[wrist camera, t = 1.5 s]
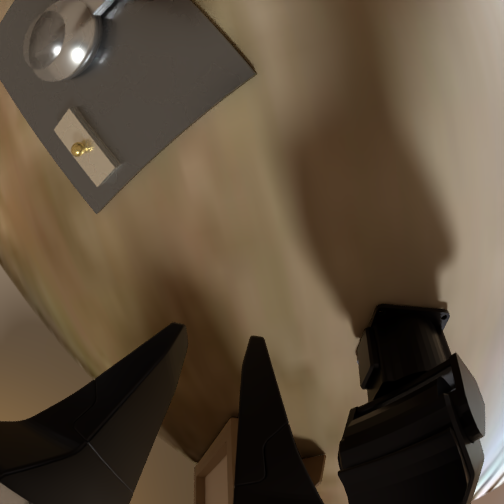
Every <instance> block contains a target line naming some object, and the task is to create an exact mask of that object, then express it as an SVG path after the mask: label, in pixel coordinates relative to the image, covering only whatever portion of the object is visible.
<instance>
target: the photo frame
mask: <svg viewBox="0 0 504 504" xmlns="http://www.w3.org/2000/svg"><path fill="white" fill-rule="evenodd" d="M237 432H238V418H230V419H229V421H228V422H227V424H226V425H225V426H224V428H223V429H222V431H221V432H220V433H219V435H218V436H217V438H216V439H215V440H214V442H213V443H212V445H211V446H210V447H209V449H208V450H207V452H206V453H205V454H204V456H203V457H202V458H201V460H200V461H199V462H198V464H197V465H196V466H195V468H194V504H233V493H234V478H235V462H236V447H237ZM325 459H326V455H320V456H315V457H310V458H304V459H302V461H303V463H304V465H305V467H306V469H307V472H308V474H309V476H310V478H311V480H312V482H313V484H314V486H315V488H316V487H317V486H318V485H319V484H320V483H321V481H322V476H323V470H324V465H325Z"/></svg>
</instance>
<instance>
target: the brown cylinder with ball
mask: <svg viewBox="0 0 504 504" xmlns="http://www.w3.org/2000/svg"><path fill="white" fill-rule="evenodd" d="M114 1H115V0H60V1H57V2H55V3H54V4H52V5H51V6H50V7H48V8H47V9H46V10H45V11H44V12H43V13H42V14H40V15H39V16H38V17H37V18H36V19H35V20H34V21H33V22H32V23H31V25H30V26H29V28H28V30H27V33H26V35H25V39H24V44H23V54H24V59H25V61H26V63H27V64H28V66H29V67H31V68H32V69H33V71H34V73H35V74H36V75H37V76H38V77H39V78H41V79H42V80H45V81H49V82H55V81H62V80H68V79H71V78H74V77H76V76H77V75H79V74H80V73H82V72H83V71H84V70H85V69H86V68H87V67H88V66H89V64H90V63H91V62H92V60H93V59H94V57H95V55H96V53H97V51H98V48H99V46H100V42H101V38H102V30H103V27H102V19H101V15H102V14H103V12H104V11H105V10H106V9H107V8H108V7H109V6H110V5H111V4H112V3H113V2H114Z"/></svg>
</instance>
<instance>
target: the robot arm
mask: <svg viewBox="0 0 504 504" xmlns="http://www.w3.org/2000/svg"><path fill="white" fill-rule="evenodd" d="M381 310H384V311H382V312H380V311H381ZM443 315H445V316H443ZM442 316H443V317H442ZM449 317H450V315H449V312H448V311H447V310H445V309H434V308H422V307H411V306H400V305H389V304H380V305H378V306H377V307H376V308H375V311H374V314H373V317H372V319H371V322H370V325H369V327H367V328H366V329H365V330H364V333H363V336H362V338H361V341H360V344H359V346H358V349H357V354H358V356H357V363H358V364H359V375H360V386H361V388H362V389H367V393H368V403H366V404H364V405H362V406H360V407H355V408H352V409H351V410H350V413H349V416H348V420H347V423H346V427H345V430H344V434H343V437H342V440H341V441H340V444H339V451H338V462H339V467H340V471H338V476H339V478H340V480H341V482H342V483H343V485H344V488H345V491H346V494H347V496H348V501H349V504H471V501H472V498H473V495H474V492H475V489H476V486H477V483H478V480H479V476H480V473H481V469H482V466H483V462H484V453H483V450H482V446H481V442H480V438H482V437H483V436H485V404H484V401H483V398H482V395H481V393H480V390H479V388H478V385H477V382H476V380H475V378H474V377H473V376H472V374H471V373H470V371H469V370H468V368H467V367H466V365H465V364H464V363H463V361H462V360H461V358H460V357H459V356H458V354H457V353H454V354H453V355H451V352H450V349H449V346H448V344H447V341H446V338H445V336H444V333H443V329H444V327H445V325H446V323H447V321H448V319H449ZM187 347H188V339H187V331H186V326H185V325H184V324H181V323H175V322H173V323H171V324H170V325H168V326H167V327H165V328H164V329H163V330H161V331H160V332H159V333H157V334H156V335H155V336H153V337H152V338H150V339H149V340H148V341H146V342H145V343H144V344H142V345H141V346H139V347H138V348H137V349H135V350H134V351H133V352H131V353H130V354H128V355H127V356H126V357H124V358H123V359H122V360H120V361H119V362H117V363H116V364H115V365H113V366H112V367H111V368H109V369H108V370H106V371H105V372H104V373H102V374H101V375H99V376H98V377H97V378H95V380H92V381H91V382H90V383H88V384H87V385H85V386H84V387H83V388H81V389H80V390H78V391H77V392H75V393H74V394H72V395H70V396H69V397H67V398H65V399H64V400H62V401H60V402H58V403H57V404H55V405H53V406H51V407H49V408H48V409H46V410H44V411H42V412H40V413H39V414H37V415H35V416H33V417H31V418H29V419H26V420H22V421H16V422H15V421H13V422H10V421H9V422H7V421H5V422H4V421H2V422H1V421H0V504H129V503H130V501H131V498H132V496H133V492H134V490H135V488H136V485H137V483H138V480H139V477H140V475H141V473H142V470H143V468H144V465H145V463H146V461H147V458H148V456H149V453H150V451H151V448H152V446H153V443H154V441H155V438H156V436H157V434H158V431H159V429H160V426H161V424H162V421H163V419H164V417H165V414H166V412H167V409H168V407H169V405H170V402H171V400H172V397H173V395H174V392H175V390H176V387H177V384H178V380H179V376H180V373H181V369H182V366H183V362H184V358H185V355H186V351H187ZM288 423H289V422H288V419H287V415H286V412H285V408H284V405H283V402H282V398H281V395H280V391H279V388H278V384H277V381H276V378H275V374H274V371H273V367H272V364H271V360H270V357H269V353H268V350H267V346H266V343H265V339H264V338H263V337H259V336H251V337H250V339H249V343H248V346H247V350H246V353H245V357H244V360H243V364H242V371H241V386H240V401H239V417H238V432H237V447H236V462H235V478H234V493H233V504H324V503H323V501H322V499H321V498H320V496H319V494H318V492H317V490H316V488H315V486H314V484H313V482H312V480H311V478H310V476H309V474H308V472H307V469H306V467H305V465H304V463H303V461H302V459H301V456H300V454H299V452H298V449H297V447H296V444H295V441H294V438H293V435H292V432H291V428H290V425H289V424H288Z"/></svg>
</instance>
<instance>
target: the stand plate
mask: <svg viewBox="0 0 504 504" xmlns="http://www.w3.org/2000/svg"><path fill="white" fill-rule="evenodd" d="M57 1H60V0H15V1H14V2H13V4H12V5H11V7H10V8H9V10H8V11H7V13H6V15H5V16H4V18H3V20H2V21H1V23H0V80H1V82H2V83H3V85H4V87H5V88H6V90H7V91H8V93H9V95H10V96H11V98H12V99H13V101H14V102H15V104H16V106H17V107H18V109H19V110H20V112H21V113H22V115H23V116H24V118H25V119H26V121H27V122H28V124H29V125H30V126H31V128H32V129H33V131H34V132H35V134H36V135H37V137H38V138H39V139H40V141H41V142H42V144H43V145H44V146H45V148H46V149H47V151H48V152H49V153H50V155H51V156H52V158H53V159H54V160H55V162H56V163H57V164H58V166H59V167H60V168H61V170H62V171H63V172H64V174H65V175H66V176H67V178H68V179H69V180H70V181H71V183H72V184H73V185H74V187H75V188H76V189H77V190H78V192H79V193H80V194H81V196H82V197H83V198H84V199H85V201H86V202H87V203H88V204H89V206H90V207H91V208H92V209H93V211H94V212H95V213H96V214H97V213H99V212H100V211H101V210H102V209H103V208H104V207H105V206H106V205H107V204H108V203H109V202H110V201H111V200H112V199H113V198H114V197H115V196H116V194H117V193H118V192H119V191H120V190H121V189H122V188H123V187H124V186H125V185H126V184H127V183H128V182H129V181H130V180H131V179H133V178H134V177H135V176H136V175H137V174H138V173H139V172H140V171H141V170H142V169H143V168H144V167H145V166H146V165H147V164H148V163H149V162H150V161H151V160H152V159H154V158H155V157H156V156H157V155H158V154H159V153H160V152H161V151H162V150H163V149H165V148H166V147H167V146H168V145H169V144H170V143H171V142H172V141H174V140H175V139H176V138H177V137H178V136H179V135H180V134H182V133H183V132H184V131H185V130H186V129H187V128H189V127H190V126H191V125H192V124H193V123H195V122H196V121H197V120H198V119H199V118H201V117H202V116H203V115H204V114H206V113H207V112H208V111H209V110H210V109H212V108H213V107H214V106H216V105H217V104H218V103H219V102H221V101H222V100H223V99H224V98H226V97H227V96H228V95H230V94H231V93H232V92H234V91H235V90H236V89H238V88H239V87H240V86H242V85H243V84H244V83H246V82H247V81H248V80H250V79H251V78H253V77H254V76H255V75H257V74H256V72H255V71H254V70H253V69H252V67H251V66H250V65H249V64H248V63H247V61H246V60H245V59H244V58H243V57H242V56H241V54H240V53H239V52H238V51H237V50H236V49H235V47H234V46H233V45H232V44H231V43H230V42H229V40H228V39H227V38H226V37H225V36H224V35H223V34H222V33H221V32H220V30H219V29H218V28H217V27H216V26H215V25H214V24H213V23H212V22H211V21H210V20H209V18H208V17H207V16H206V15H205V14H204V13H203V12H202V11H201V10H200V9H199V8H198V7H197V6H196V5H195V4H194V3H193V2H192V1H191V0H115V1H114V2H113V3H112V4H111V5H110V6H109V7H108V8H107V9H106V10H105V11H104V12H103V14H102V15H101V19H102V27H103V30H102V38H101V42H100V46H99V48H98V51H97V53H96V55H95V57H94V59H93V60H92V62H91V63H90V64H89V66H88V67H87V68H86V69H85V70H84V71H83V72H82V73H80V74H79V75H77V76H76V77H74V78H71V79H68V80H62V81H55V82H49V81H45V80H42V79H41V78H39V77H38V76H37V75H36V74H35V73H34V71H33V69H32V68H31V67H29V66H28V64H27V63H26V61H25V59H24V54H23V44H24V39H25V35H26V33H27V30H28V28H29V26H30V25H31V23H32V22H33V21H34V20H35V19H36V18H37V17H38V16H39V15H40V14H42V13H43V12H44V11H45V10H46V9H47V8H48V7H50V6H51V5H52V4H54V3H55V2H57Z"/></svg>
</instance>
